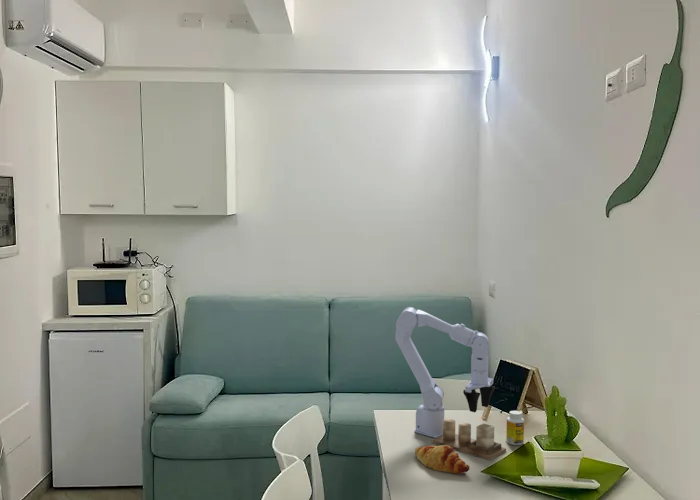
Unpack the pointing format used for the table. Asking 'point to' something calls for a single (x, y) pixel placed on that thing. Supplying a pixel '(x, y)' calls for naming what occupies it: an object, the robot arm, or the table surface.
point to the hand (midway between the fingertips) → (479, 409)
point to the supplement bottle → (515, 428)
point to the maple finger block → (485, 436)
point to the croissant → (441, 459)
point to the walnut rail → (465, 447)
